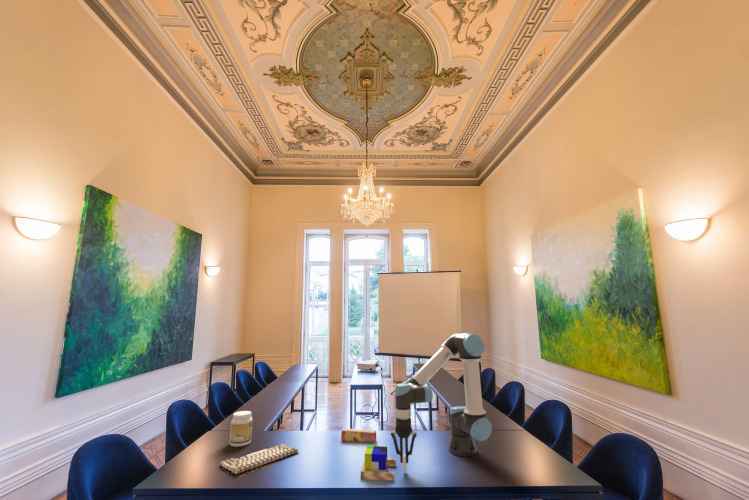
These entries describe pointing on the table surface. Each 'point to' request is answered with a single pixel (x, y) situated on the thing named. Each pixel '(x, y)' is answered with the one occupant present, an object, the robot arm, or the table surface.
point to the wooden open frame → (379, 475)
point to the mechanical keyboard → (257, 460)
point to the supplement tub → (241, 429)
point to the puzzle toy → (376, 459)
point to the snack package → (358, 435)
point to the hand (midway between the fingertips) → (404, 470)
